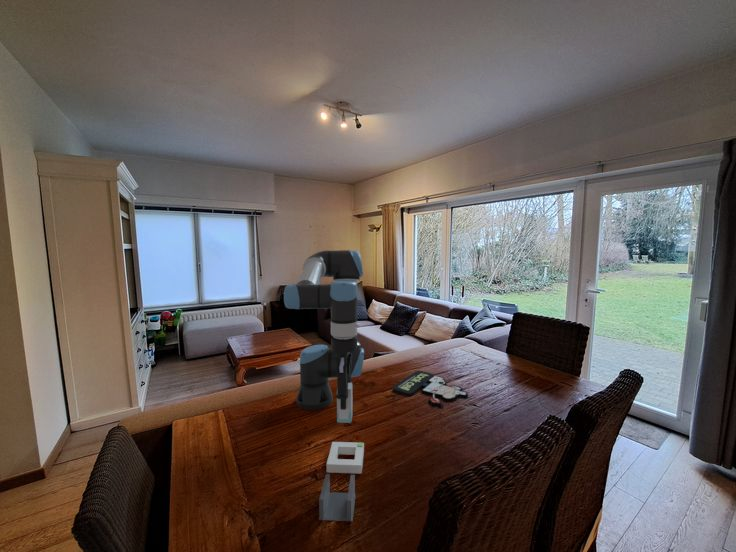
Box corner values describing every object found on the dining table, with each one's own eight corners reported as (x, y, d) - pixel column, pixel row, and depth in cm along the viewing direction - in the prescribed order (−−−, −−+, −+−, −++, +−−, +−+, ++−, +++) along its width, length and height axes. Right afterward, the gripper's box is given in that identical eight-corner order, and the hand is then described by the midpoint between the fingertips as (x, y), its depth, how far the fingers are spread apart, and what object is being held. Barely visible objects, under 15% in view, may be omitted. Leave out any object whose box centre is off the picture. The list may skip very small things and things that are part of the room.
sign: (417, 370, 156) (475, 385, 138) (417, 373, 156) (475, 389, 138) (389, 388, 135) (453, 409, 116) (389, 392, 135) (453, 413, 117)
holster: (318, 521, 69) (318, 499, 69) (325, 494, 77) (324, 473, 77) (352, 523, 69) (352, 500, 68) (355, 495, 77) (355, 475, 76)
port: (326, 474, 84) (326, 463, 84) (332, 450, 94) (332, 440, 94) (361, 475, 84) (361, 464, 83) (364, 451, 94) (363, 441, 93)
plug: (337, 422, 85) (336, 388, 84) (339, 414, 89) (339, 382, 88) (351, 422, 84) (350, 389, 83) (352, 414, 88) (352, 382, 87)
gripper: (354, 345, 75) (354, 432, 78) (359, 327, 92) (360, 399, 95) (325, 345, 76) (326, 431, 78) (336, 327, 93) (336, 398, 95)
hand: (345, 413), depth 86 cm, fingers closed on plug, 4 cm apart
